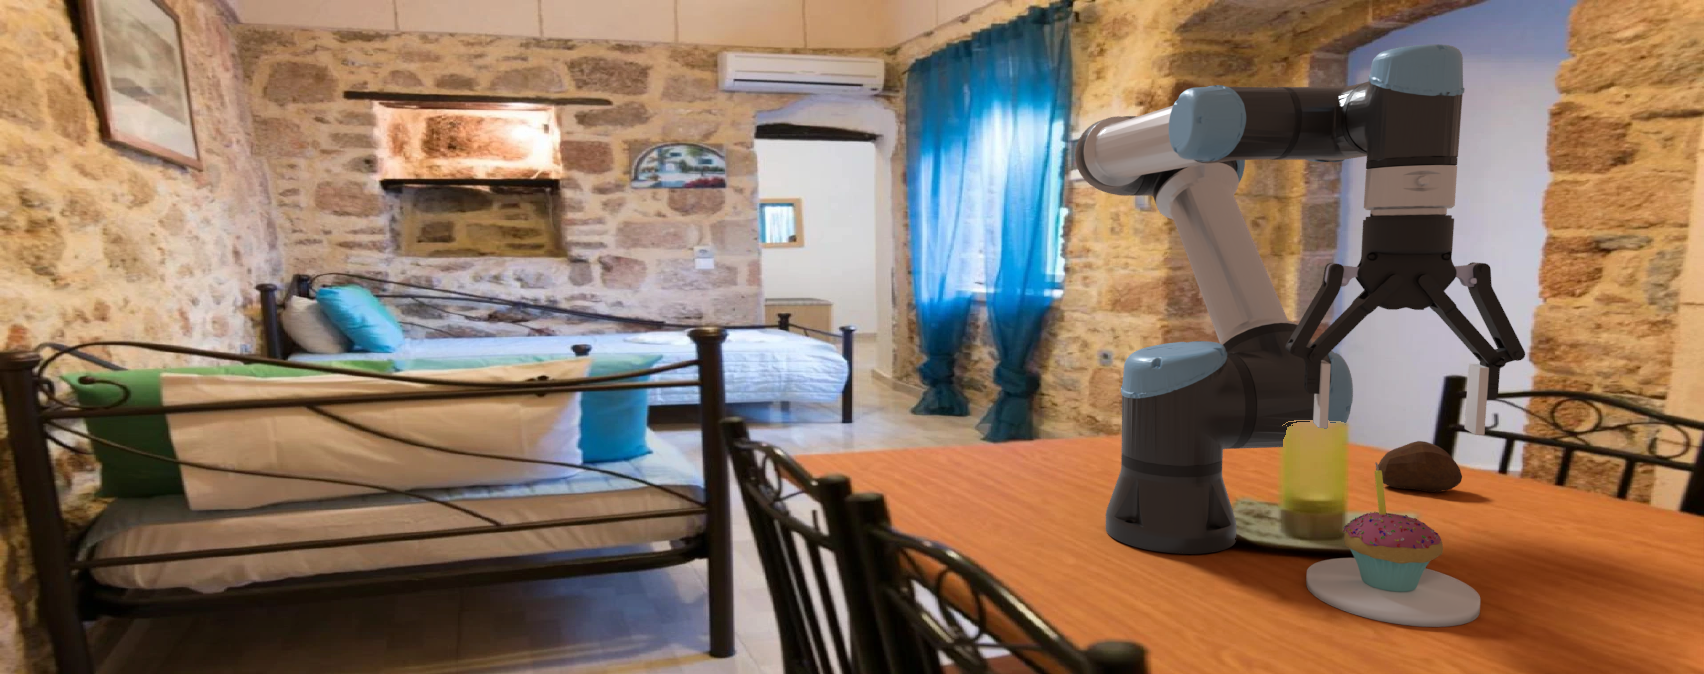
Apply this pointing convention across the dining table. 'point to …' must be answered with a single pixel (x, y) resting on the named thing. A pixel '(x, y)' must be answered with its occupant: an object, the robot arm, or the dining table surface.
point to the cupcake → (1391, 546)
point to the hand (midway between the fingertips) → (1395, 429)
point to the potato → (1420, 468)
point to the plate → (1394, 596)
